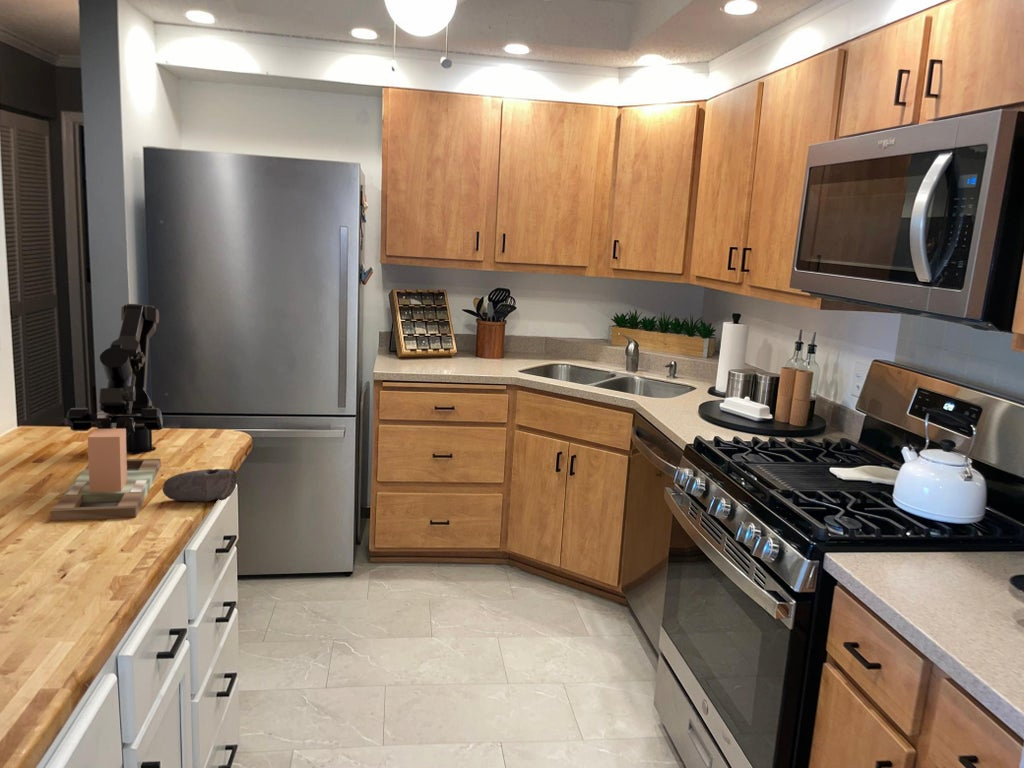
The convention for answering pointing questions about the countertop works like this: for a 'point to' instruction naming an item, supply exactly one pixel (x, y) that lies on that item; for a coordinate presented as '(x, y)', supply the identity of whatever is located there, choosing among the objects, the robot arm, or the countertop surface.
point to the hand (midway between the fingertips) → (111, 452)
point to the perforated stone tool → (201, 485)
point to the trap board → (108, 495)
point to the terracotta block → (107, 460)
